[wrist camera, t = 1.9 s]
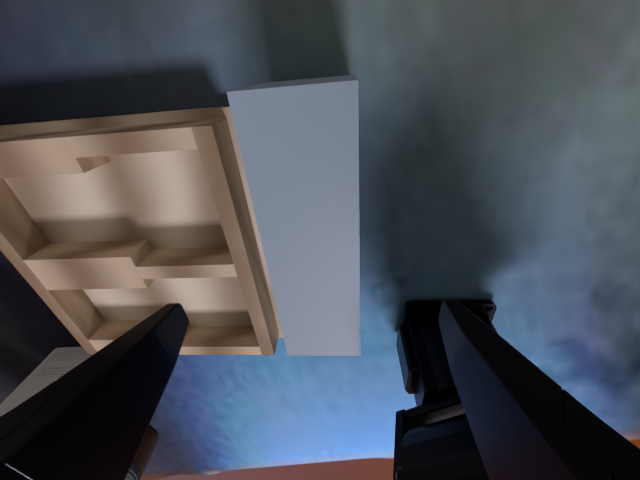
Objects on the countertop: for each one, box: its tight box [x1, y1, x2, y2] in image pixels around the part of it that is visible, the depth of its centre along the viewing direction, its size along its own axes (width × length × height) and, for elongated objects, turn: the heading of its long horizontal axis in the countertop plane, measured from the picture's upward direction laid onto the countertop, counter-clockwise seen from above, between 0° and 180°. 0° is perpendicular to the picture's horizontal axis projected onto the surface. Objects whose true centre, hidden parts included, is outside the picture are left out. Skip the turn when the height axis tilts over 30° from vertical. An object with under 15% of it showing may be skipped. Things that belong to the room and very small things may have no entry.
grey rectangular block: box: [227, 75, 360, 356], centre depth 15 cm, size 4×13×6 cm, turn 5°
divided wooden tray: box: [0, 106, 284, 355], centre depth 19 cm, size 20×18×3 cm
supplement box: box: [0, 347, 93, 417], centre depth 24 cm, size 7×7×13 cm
